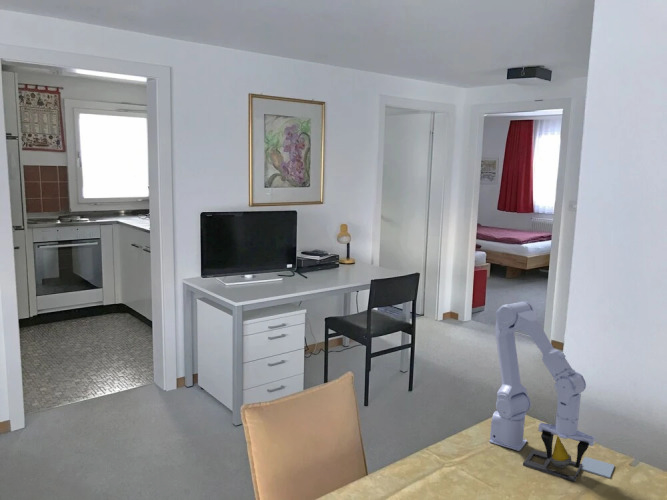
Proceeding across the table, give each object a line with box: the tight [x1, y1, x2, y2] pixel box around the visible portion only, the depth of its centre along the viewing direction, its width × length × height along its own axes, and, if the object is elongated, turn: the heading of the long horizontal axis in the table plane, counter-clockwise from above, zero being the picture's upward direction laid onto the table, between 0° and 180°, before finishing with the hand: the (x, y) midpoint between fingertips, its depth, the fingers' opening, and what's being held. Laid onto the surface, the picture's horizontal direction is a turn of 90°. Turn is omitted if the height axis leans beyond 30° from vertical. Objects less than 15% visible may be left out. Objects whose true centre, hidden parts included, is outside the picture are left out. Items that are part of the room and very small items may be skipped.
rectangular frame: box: [522, 449, 583, 483], centre depth 160 cm, size 14×10×1 cm
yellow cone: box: [551, 435, 572, 470], centre depth 158 cm, size 5×5×10 cm
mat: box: [580, 456, 616, 479], centre depth 160 cm, size 8×8×1 cm
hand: (563, 461), depth 158 cm, fingers open, 7 cm apart
